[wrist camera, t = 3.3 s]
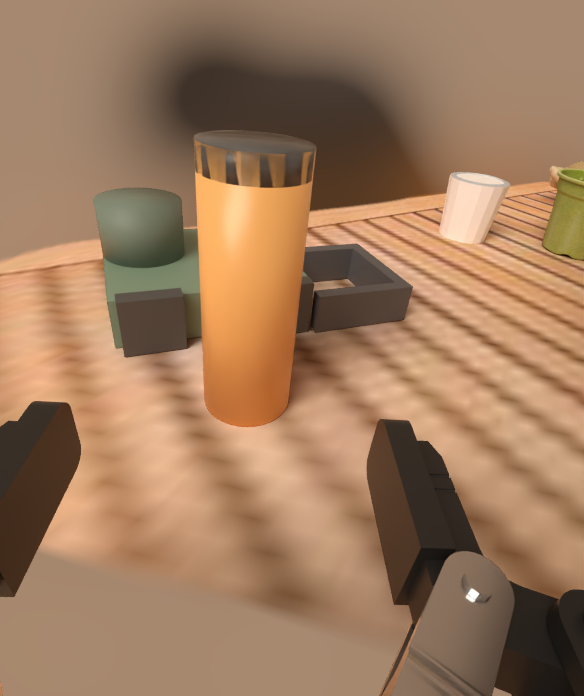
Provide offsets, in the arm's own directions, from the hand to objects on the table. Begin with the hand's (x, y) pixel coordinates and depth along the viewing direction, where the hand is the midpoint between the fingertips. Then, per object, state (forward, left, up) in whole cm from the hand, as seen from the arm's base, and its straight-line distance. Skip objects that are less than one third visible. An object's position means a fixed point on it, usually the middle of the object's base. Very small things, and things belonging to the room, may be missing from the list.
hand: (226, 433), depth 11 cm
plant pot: (-50, -26, -9) cm, 57 cm away
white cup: (-39, -33, -9) cm, 52 cm away
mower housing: (-8, -23, -9) cm, 26 cm away
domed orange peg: (-4, -11, -9) cm, 14 cm away
